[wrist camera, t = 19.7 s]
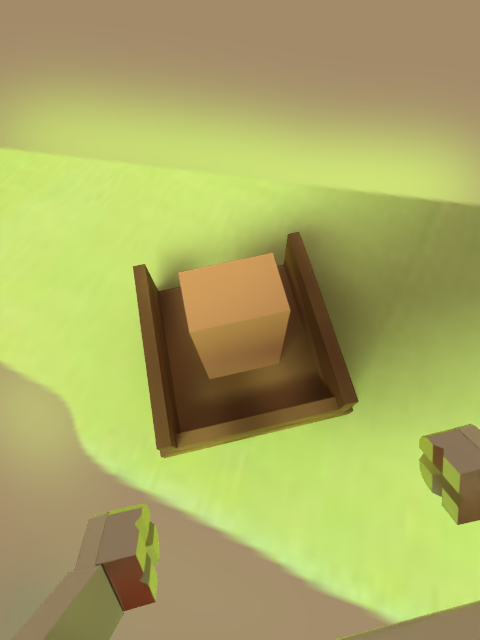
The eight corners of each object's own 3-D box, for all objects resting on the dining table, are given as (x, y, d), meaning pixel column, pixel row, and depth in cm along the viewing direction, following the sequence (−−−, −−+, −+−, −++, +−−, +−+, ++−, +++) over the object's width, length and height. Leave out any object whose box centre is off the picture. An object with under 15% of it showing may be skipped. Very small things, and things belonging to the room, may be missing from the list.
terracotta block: (267, 320, 28) (272, 252, 20) (279, 363, 27) (290, 310, 18) (200, 335, 28) (178, 272, 19) (209, 379, 26) (189, 332, 18)
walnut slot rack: (300, 268, 31) (308, 229, 26) (349, 413, 26) (370, 398, 22) (143, 302, 30) (122, 268, 25) (164, 457, 26) (144, 452, 21)
